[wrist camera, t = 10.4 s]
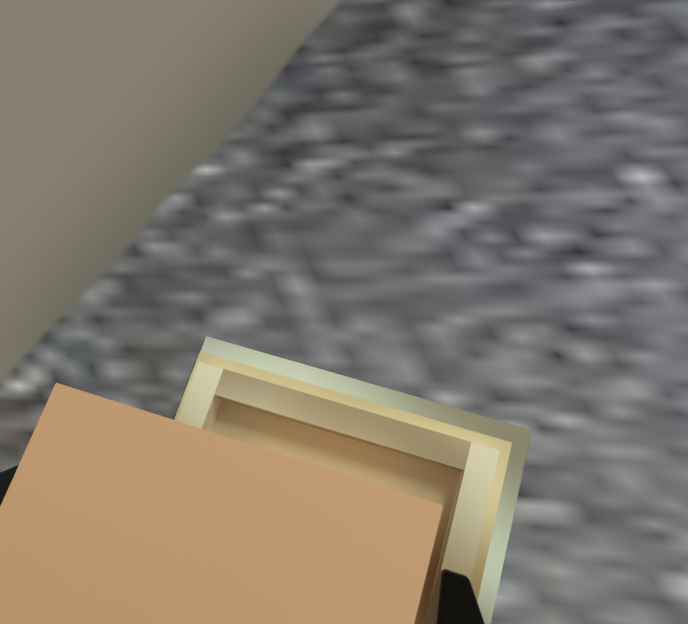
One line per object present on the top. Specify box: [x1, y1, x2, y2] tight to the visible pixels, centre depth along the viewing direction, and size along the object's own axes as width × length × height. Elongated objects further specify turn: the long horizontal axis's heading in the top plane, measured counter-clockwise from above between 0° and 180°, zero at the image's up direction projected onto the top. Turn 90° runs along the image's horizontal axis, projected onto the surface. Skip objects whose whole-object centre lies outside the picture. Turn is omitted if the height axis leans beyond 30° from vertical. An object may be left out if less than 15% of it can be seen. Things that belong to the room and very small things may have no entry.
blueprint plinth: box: [174, 336, 531, 624], centre depth 18 cm, size 12×12×4 cm
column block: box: [0, 383, 443, 624], centre depth 12 cm, size 5×5×11 cm
